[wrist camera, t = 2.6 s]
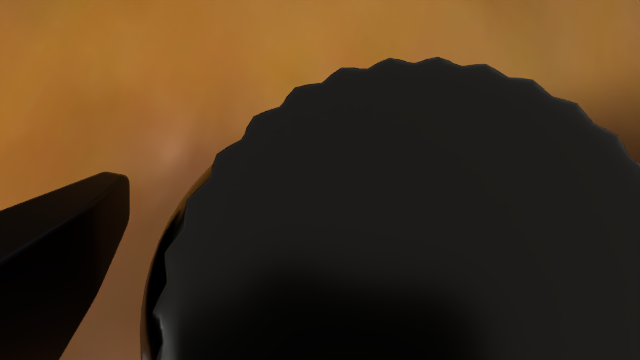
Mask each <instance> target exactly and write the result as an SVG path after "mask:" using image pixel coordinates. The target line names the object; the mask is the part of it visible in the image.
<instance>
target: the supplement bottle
mask: <svg viewBox="0 0 640 360" xmlns="http://www.w3.org/2000/svg"><path fill="white" fill-rule="evenodd" d="M140 351H141V360H640V164H639V163H638V162H636V161H635V160H633V159H632V158H631V157H630V155H629V154H628V152H627V151H626V149H625V146H624V145H623V143H622V142H621V140H620V138H619V137H618V135H616V134H614V133H612V132H610V131H609V130H607V129H605V128H602V127H600V126H598V125H596V124H594V123H593V122H592V120H591V119H590V118H589V117H588V116H587V114H586V113H585V112H584V111H583V110H582V109H581V108H580V106H579V105H578V104H577V103H574V102H571V101H568V100H564V99H560V98H556V97H553V96H551V95H550V94H549V93H548V92H546V91H545V90H544V89H543V88H542V87H541V86H540V85H539V84H537V83H536V82H535V81H534V80H531V79H524V78H510V77H507V76H506V75H504V74H502V73H501V72H499V71H498V70H496V69H494V68H492V67H490V66H489V65H487V64H474V65H467V66H460V65H457V64H454V63H452V62H451V61H449V60H446V59H443V58H440V57H435V58H430V59H426V60H423V61H420V62H417V63H410V62H406V61H403V60H399V59H393V58H388V59H386V60H383V61H381V62H378V63H377V64H375V65H373V66H371V67H370V68H368V69H359V68H340V69H339V70H337V71H336V72H334V73H333V74H331V75H330V76H329V77H328V78H327V79H326V80H325V81H323V82H322V83H316V84H308V85H303V86H299V87H295V88H294V89H293V90H292V91H291V92H290V94H289V95H288V96H287V97H286V99H285V101H284V102H283V104H282V105H281V106H280V107H277V108H274V109H271V110H268V111H265V112H263V113H261V114H258V115H256V116H254V117H253V118H252V120H251V121H250V123H249V125H248V126H247V128H246V131H245V134H244V136H243V137H242V139H241V140H239V141H237V142H236V143H234V144H232V145H230V146H228V147H227V148H225V149H224V150H222V151H221V152H219V153H218V154H217V155H216V157H215V160H214V162H213V164H212V165H211V166H210V167H209V168H208V169H207V170H206V171H205V172H204V173H203V174H202V175H201V177H200V178H199V179H198V180H197V181H196V182H195V183H194V184H193V186H192V187H191V188H190V189H189V191H188V192H187V194H186V195H185V196H184V198H183V199H182V200H181V202H180V203H179V205H178V206H177V208H176V210H175V211H174V213H173V215H172V216H171V218H170V220H169V221H168V223H167V225H166V227H165V230H164V232H163V234H162V236H161V238H160V240H159V242H158V245H157V248H156V250H155V253H154V256H153V259H152V261H151V264H150V268H149V272H148V276H147V280H146V284H145V289H144V295H143V301H142V308H141V322H140Z"/></svg>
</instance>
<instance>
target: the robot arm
mask: <svg viewBox="0 0 640 360" xmlns="http://www.w3.org/2000/svg"><path fill="white" fill-rule="evenodd" d="M129 215H130V189H129V179H128V177H127V176H126V175H122V174H116V173H111V172H102V173H99V174H96V175H94V176H91V177H88V178H86V179H83V180H81V181H78V182H75V183H73V184H70V185H67V186H65V187H62V188H59V189H57V190H54V191H51V192H49V193H46V194H43V195H41V196H38V197H35V198H33V199H30V200H27V201H25V202H22V203H19V204H17V205H14V206H12V207H9V208H6V209H4V210H1V211H0V360H59V359H60V357H61V356H62V354H63V352H64V350H65V349H66V347H67V345H68V344H69V342H70V340H71V339H72V337H73V335H74V333H75V332H76V330H77V328H78V327H79V325H80V323H81V322H82V320H83V318H84V316H85V315H86V313H87V311H88V310H89V308H90V306H91V304H92V303H93V301H94V299H95V297H96V295H97V293H98V291H99V289H100V287H101V285H102V283H103V280H104V278H105V276H106V273H107V271H108V269H109V266H110V264H111V262H112V259H113V257H114V255H115V253H116V250H117V248H118V246H119V243H120V241H121V239H122V236H123V234H124V232H125V229H126V227H127V224H128V221H129Z"/></svg>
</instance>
